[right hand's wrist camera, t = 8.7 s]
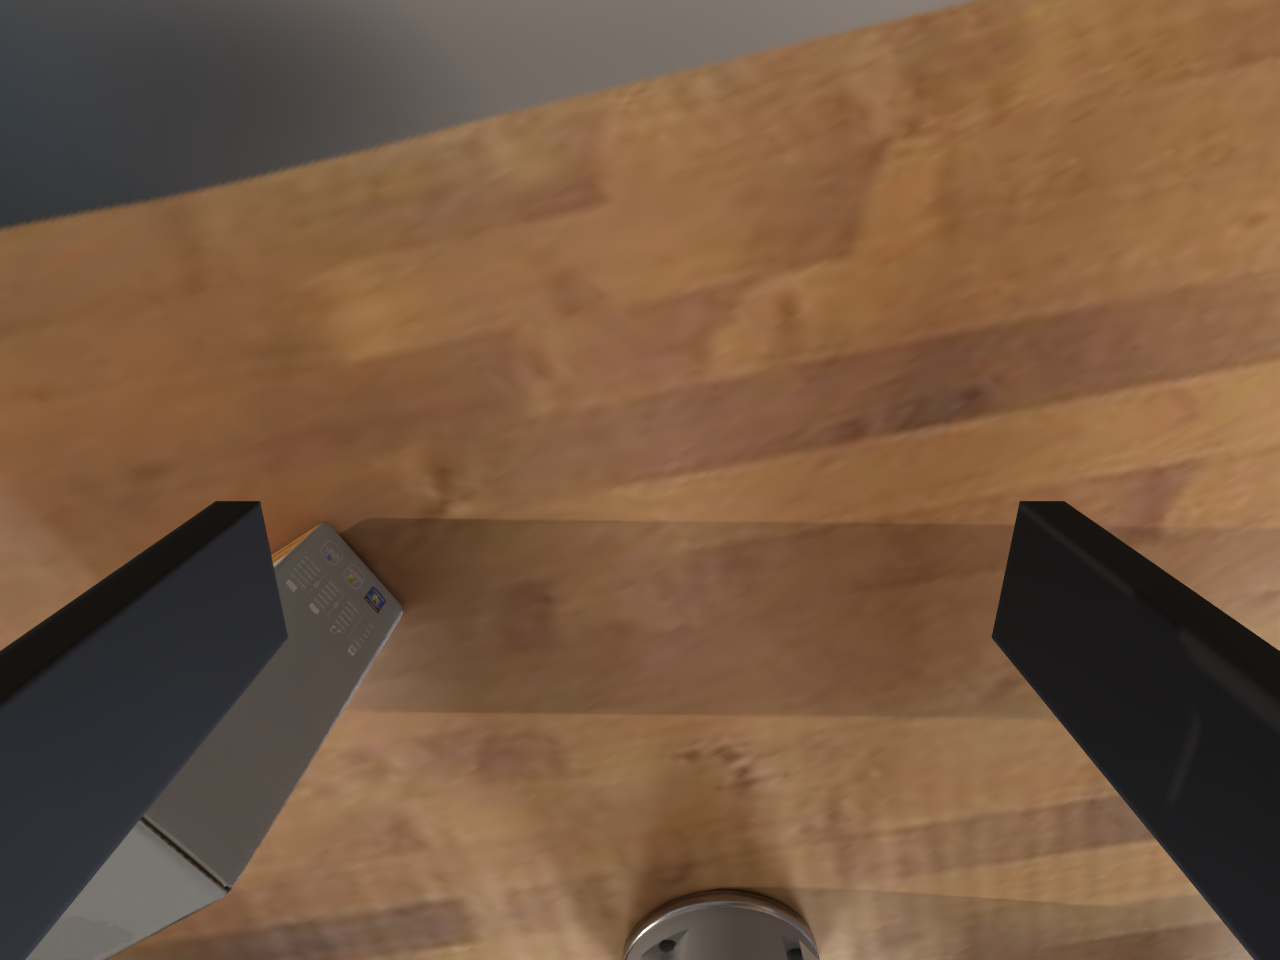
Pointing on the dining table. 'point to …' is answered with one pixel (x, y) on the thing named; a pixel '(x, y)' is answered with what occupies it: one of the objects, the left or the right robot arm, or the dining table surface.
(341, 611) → the hard drive box
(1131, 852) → the dining table surface
